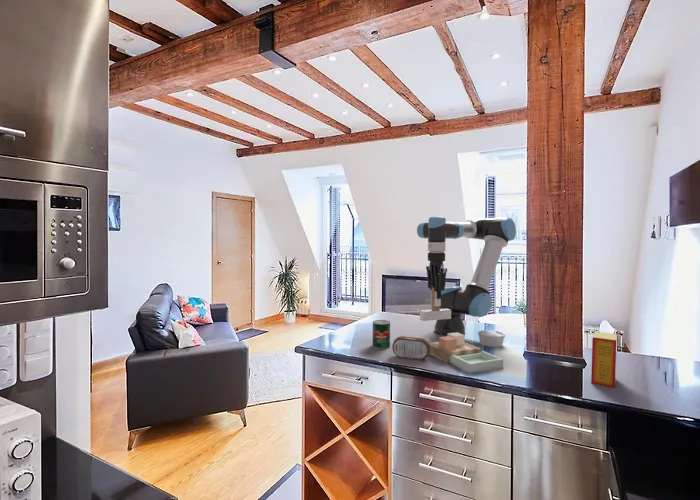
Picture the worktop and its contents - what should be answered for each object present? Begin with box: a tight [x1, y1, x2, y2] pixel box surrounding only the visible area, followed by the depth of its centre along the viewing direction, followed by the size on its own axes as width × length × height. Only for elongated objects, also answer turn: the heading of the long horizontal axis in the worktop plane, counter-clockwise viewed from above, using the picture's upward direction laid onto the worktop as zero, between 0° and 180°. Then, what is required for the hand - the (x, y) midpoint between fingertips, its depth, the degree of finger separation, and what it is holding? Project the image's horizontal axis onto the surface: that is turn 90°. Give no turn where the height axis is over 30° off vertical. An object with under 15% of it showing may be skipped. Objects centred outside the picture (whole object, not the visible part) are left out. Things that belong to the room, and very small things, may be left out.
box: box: [449, 350, 504, 375], centre depth 147 cm, size 15×12×4 cm
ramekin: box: [477, 329, 506, 348], centre depth 176 cm, size 11×11×5 cm
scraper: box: [419, 287, 451, 322], centre depth 171 cm, size 14×3×14 cm, turn 110°
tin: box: [392, 335, 430, 361], centre depth 156 cm, size 15×3×8 cm, turn 71°
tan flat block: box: [428, 341, 481, 364], centre depth 160 cm, size 16×14×4 cm
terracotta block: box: [438, 335, 457, 350], centre depth 157 cm, size 5×5×4 cm
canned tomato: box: [372, 319, 391, 350], centre depth 172 cm, size 8×8×11 cm
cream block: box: [446, 332, 466, 346], centre depth 163 cm, size 5×5×4 cm
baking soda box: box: [590, 331, 618, 389], centre depth 132 cm, size 10×6×16 cm
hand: (435, 305), depth 171 cm, fingers closed on scraper, 2 cm apart
